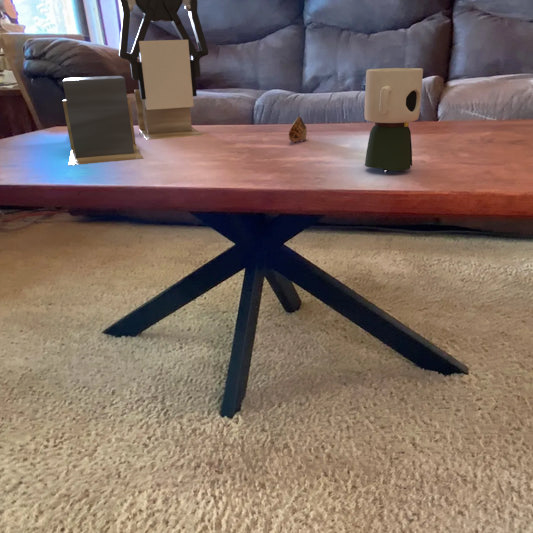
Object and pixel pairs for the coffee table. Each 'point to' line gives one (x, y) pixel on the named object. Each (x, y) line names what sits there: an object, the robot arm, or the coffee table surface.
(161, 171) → the coffee table surface
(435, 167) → the coffee table surface
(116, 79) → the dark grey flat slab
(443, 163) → the coffee table surface
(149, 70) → the cream book
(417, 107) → the toy figurine
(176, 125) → the cream rack
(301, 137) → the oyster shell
